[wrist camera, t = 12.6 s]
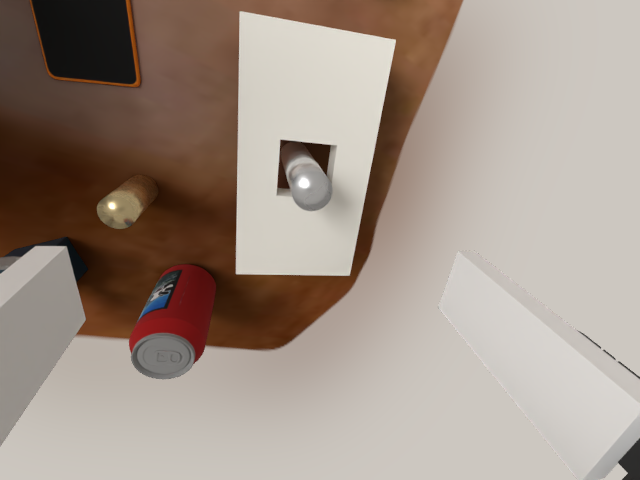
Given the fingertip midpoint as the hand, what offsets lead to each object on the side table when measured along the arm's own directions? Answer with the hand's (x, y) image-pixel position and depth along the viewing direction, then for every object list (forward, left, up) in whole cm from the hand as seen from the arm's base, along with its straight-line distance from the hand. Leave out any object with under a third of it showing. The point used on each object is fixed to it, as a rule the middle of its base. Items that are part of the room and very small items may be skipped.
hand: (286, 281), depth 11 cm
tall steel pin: (+3, -1, -26) cm, 26 cm away
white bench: (+3, 0, -26) cm, 26 cm away
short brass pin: (-13, -5, -26) cm, 29 cm away
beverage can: (-9, -17, -26) cm, 32 cm away
